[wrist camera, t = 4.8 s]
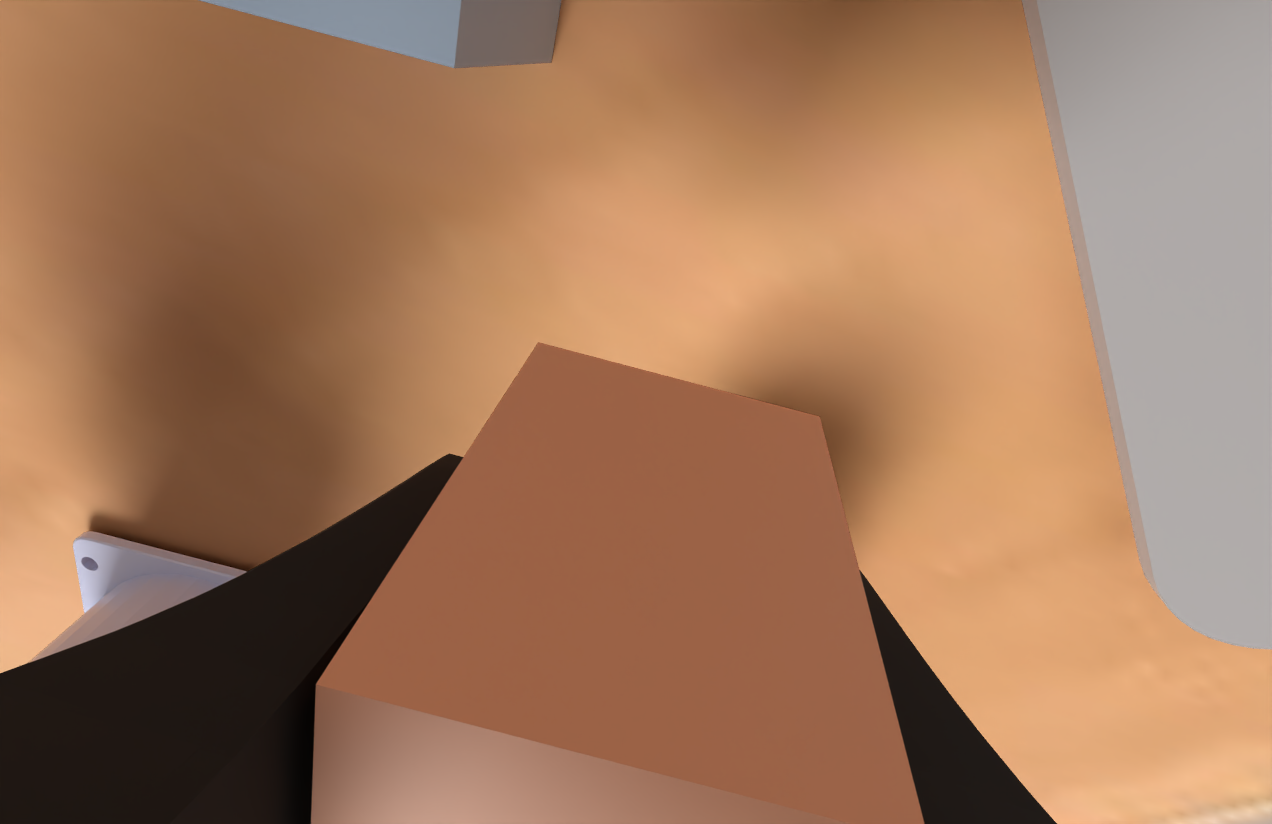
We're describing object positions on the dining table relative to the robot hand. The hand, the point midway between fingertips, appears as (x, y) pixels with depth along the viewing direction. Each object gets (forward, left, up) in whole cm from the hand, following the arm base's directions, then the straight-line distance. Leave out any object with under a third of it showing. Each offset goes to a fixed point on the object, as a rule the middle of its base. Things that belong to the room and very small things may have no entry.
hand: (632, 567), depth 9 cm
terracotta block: (0, 0, -2) cm, 2 cm away
